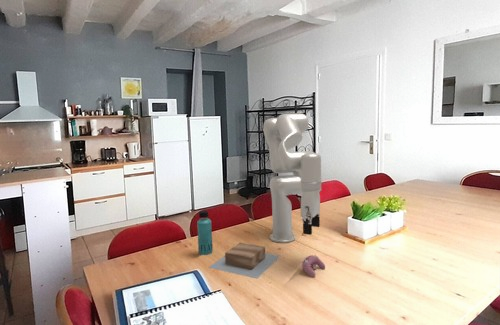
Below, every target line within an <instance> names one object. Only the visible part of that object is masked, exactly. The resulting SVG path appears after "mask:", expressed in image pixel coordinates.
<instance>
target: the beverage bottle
mask: <svg viewBox="0 0 500 325" xmlns="http://www.w3.org/2000/svg"><path fill="white" fill-rule="evenodd" d="M198 217H199V219H198V220H197V222H196V227H197V247H198V248H197V249H198V254H199V255H202V256H208V255H211V254H212V253H213V250H214V249H213V248H214V247H213V246H214V245H213V229H212V228H213V227H212V220H211V219H210V218H208V217H210V216H209V211H208V210H203V211H202V210H201V211H199V214H198Z"/></svg>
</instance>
